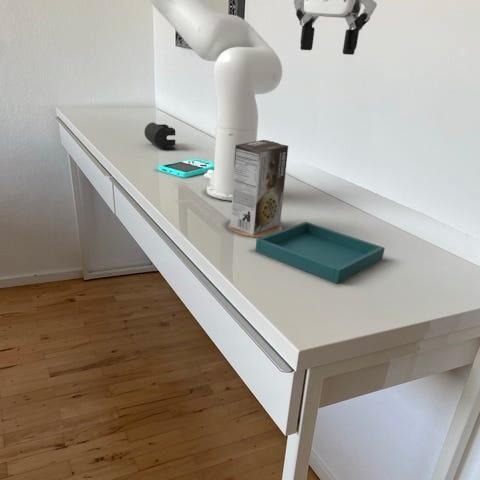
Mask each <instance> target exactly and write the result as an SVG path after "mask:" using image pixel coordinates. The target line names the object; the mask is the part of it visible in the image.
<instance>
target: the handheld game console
mask: <svg viewBox="0 0 480 480" xmlns="http://www.w3.org/2000/svg"><path fill="white" fill-rule="evenodd" d="M209 169H211V170H214V162H213V161H209V160H205V159H201V158H189V159H186V160H180V161H176V162H175V161H174V162H171V163H166V164H161V165H158V169H157V170H158V172H159V171H160V172H162V173H166V174H170V175H174V176H177V177H181V178H190V177H193V176H197V175H201V174H205V173H207V171H208V170H209Z"/></svg>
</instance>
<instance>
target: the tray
mask: <svg viewBox="0 0 480 480" xmlns="http://www.w3.org/2000/svg"><path fill="white" fill-rule="evenodd" d="M254 251H255V252H256V253H259V254H261V255H264V256H266V257H269V258H271V259H274V260H276V261H279V262H281V263H284V264H286V265H289V266H291V267H294V268H296V269H298V270H301V271H304V272H307V273H309V274H312V275H314V276H317V277H319V278H321V279H324V280H327V281H330V282H332V283H334V284H340V283H341V282H343V281H345V280H347V279H349V278H350V277H353V276H354V275H357V274H358V273H360V272H362V271H364V270H366V269H367V268H370V267H372V266H373V265H375V264H376V263H378V262H380V261H382V260H383V257H384V252H385V247H384V246H381V245H378V244H375V243H372V242H369V241H366V240H363V239H359V238H356V237H353V236H351V235H347V234H344V233H341V232H338V231H335V230H333V229H329V228H326V227H323V226H320V225H318V224H314V223H311V222H308V221H303V222H300V223H297V224H295V225H292V226H289V227H287V228H284V229H282V230H281V231H278V232H275V233H272V234H270V235H267V236H264V237H257V238H256V241H255V249H254Z"/></svg>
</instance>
